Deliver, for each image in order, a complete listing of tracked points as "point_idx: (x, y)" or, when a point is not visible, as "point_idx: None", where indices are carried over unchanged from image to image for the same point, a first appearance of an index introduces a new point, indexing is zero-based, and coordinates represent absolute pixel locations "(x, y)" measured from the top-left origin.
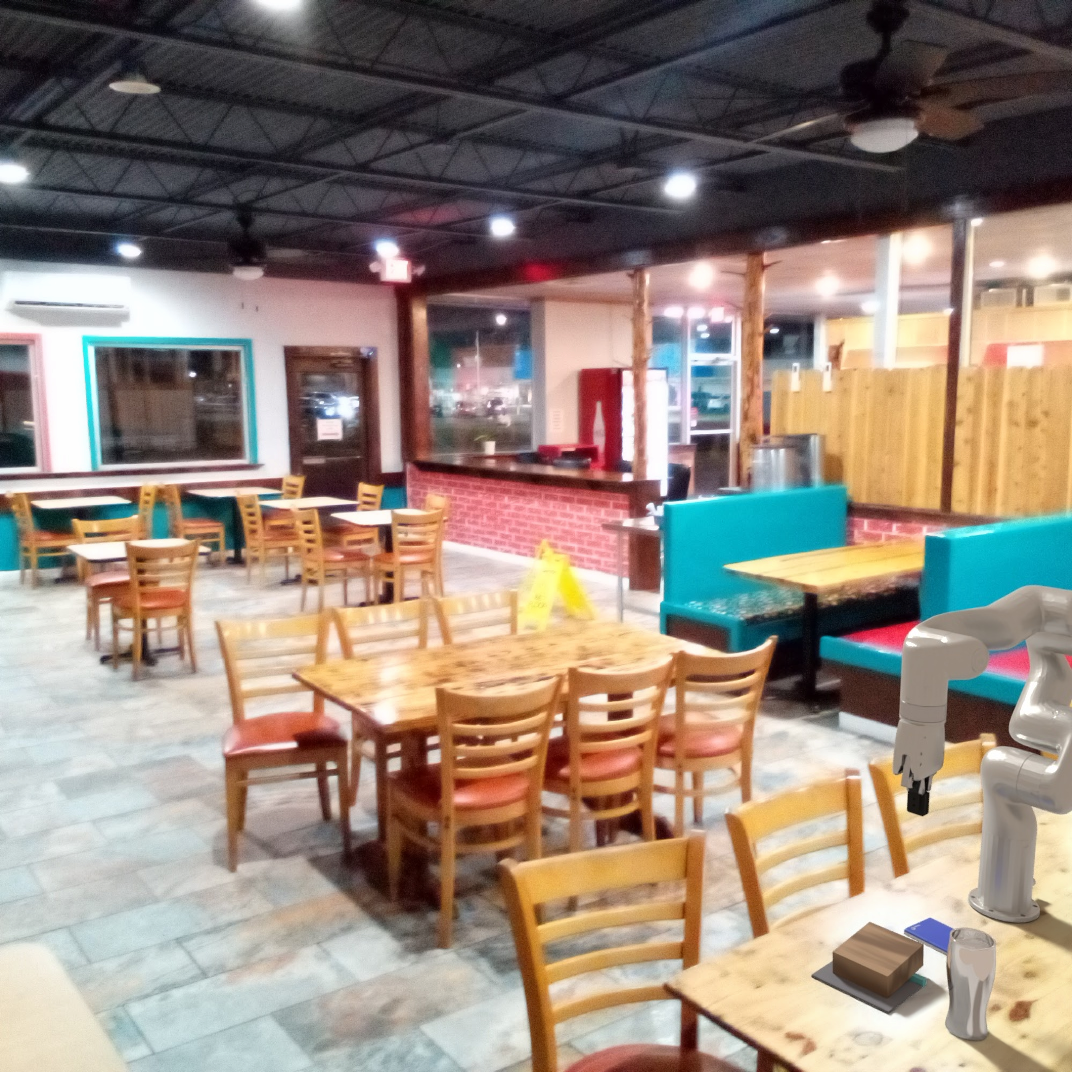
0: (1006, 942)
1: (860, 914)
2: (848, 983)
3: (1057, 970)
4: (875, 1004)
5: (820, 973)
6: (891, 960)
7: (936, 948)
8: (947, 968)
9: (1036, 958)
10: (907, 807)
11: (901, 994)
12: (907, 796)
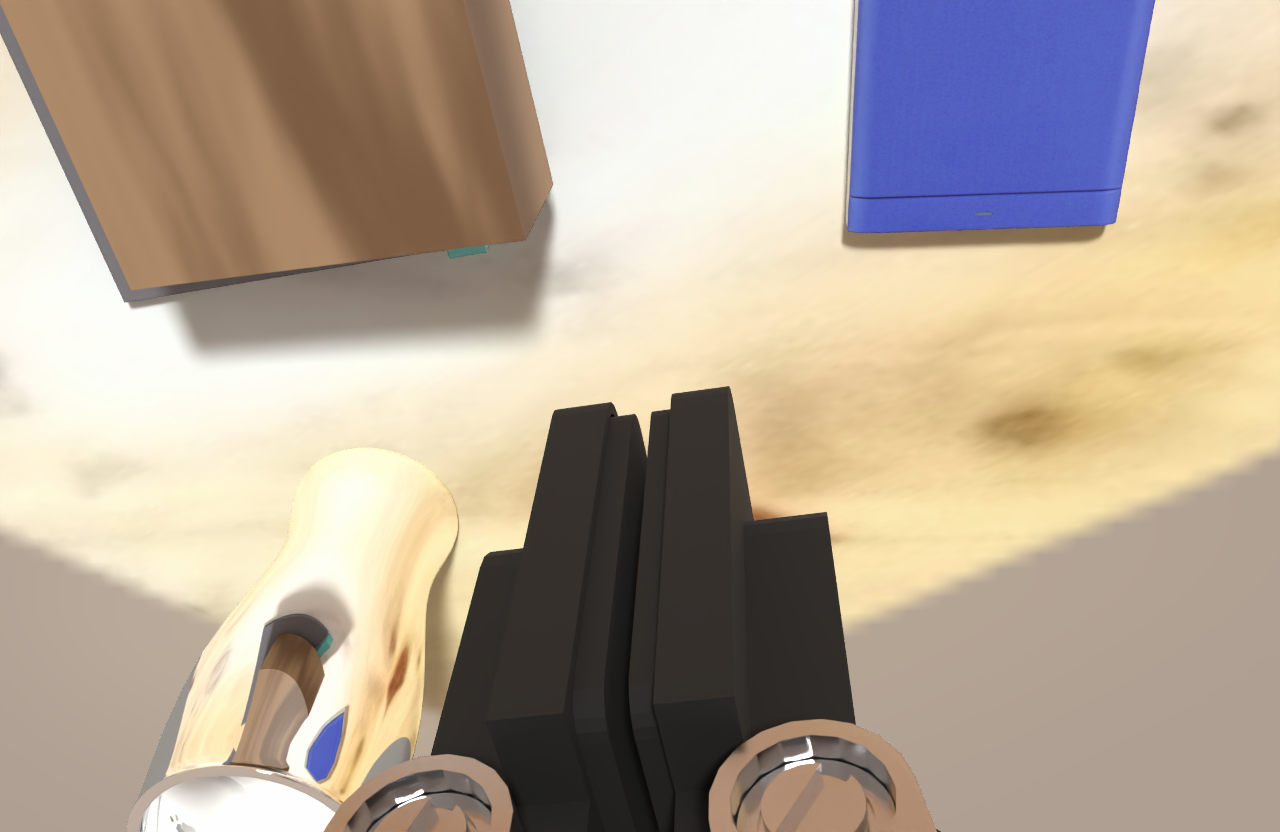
0: (1277, 199)
1: None
2: None
3: (1171, 470)
4: (99, 236)
5: None
6: (245, 217)
7: (855, 43)
8: (200, 657)
9: (1215, 368)
10: (550, 448)
11: None
12: (515, 589)
